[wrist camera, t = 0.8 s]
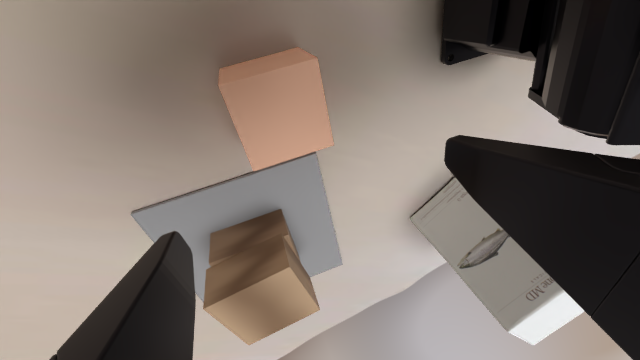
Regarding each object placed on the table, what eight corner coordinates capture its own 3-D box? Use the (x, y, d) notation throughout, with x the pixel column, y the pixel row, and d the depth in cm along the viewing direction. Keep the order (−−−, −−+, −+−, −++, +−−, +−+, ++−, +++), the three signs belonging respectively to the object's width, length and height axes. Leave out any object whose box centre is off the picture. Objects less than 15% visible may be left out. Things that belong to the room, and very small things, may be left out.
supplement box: (461, 167, 27) (605, 265, 17) (487, 199, 31) (616, 294, 21) (406, 217, 29) (507, 335, 18) (438, 242, 33) (535, 349, 22)
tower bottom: (281, 208, 23) (288, 234, 20) (298, 254, 26) (306, 281, 24) (210, 233, 22) (208, 263, 19) (237, 276, 25) (239, 307, 23)
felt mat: (315, 151, 21) (316, 153, 21) (341, 262, 29) (342, 264, 29) (131, 212, 19) (130, 214, 19) (213, 311, 28) (213, 314, 27)
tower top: (281, 233, 20) (289, 266, 17) (309, 276, 23) (320, 309, 21) (206, 269, 20) (203, 309, 17) (246, 307, 23) (248, 345, 21)
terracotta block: (297, 46, 17) (317, 57, 13) (314, 120, 20) (334, 145, 16) (219, 68, 16) (218, 85, 13) (248, 140, 19) (253, 171, 16)
